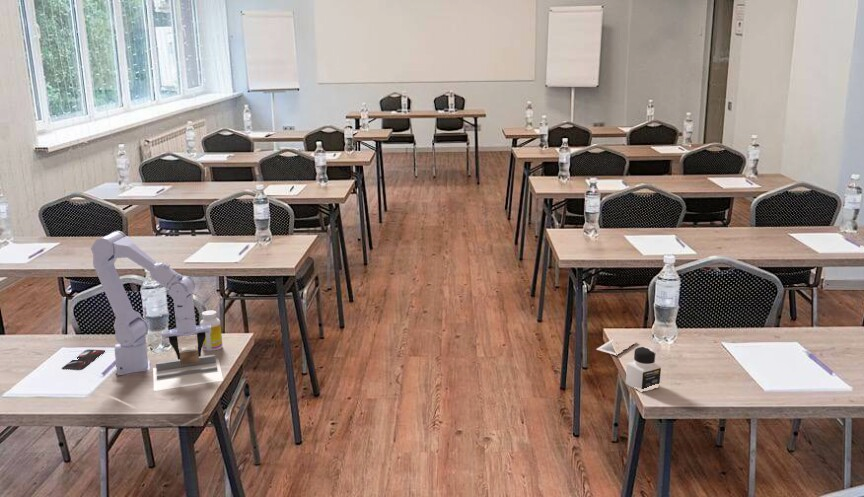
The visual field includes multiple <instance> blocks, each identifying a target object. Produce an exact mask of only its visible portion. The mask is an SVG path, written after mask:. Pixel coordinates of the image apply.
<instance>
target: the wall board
mask: <svg viewBox="0 0 864 497" xmlns="http://www.w3.org/2000/svg"><path fill="white" fill-rule="evenodd" d="M152 371H153V372H152V375H153V378H152V379H153V392H158V391H159V392H160V391H164V390H172V389H177V388H178V389H179V388H185V387H191V386H197V385H203V384H204V385H205V384H210V383H217V382H218V383H219V382H224V378H223V374H222V369H221V364H220V358H216V354H210V355H203V356H202V355H201V356H200V357H199V363H192V364H185V365H181V362H180V359H179V360H178V359H174V360H173V359H172V360H167V361H161V362H155V367H153V368H152Z"/></svg>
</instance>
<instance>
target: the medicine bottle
mask: <svg viewBox="0 0 864 497" xmlns="http://www.w3.org/2000/svg"><path fill="white" fill-rule="evenodd" d="M633 355H634V356H633V361H628V362H627V363H626V374H625V376H626V377H625V384H626V386H628V387H630V388H632V389H634V388H633V386H634V387H637V388H641V389H644V388H647V387H649V386H652V385H655V384H659V383H661V371H662V366H661V365H659V364H656V351H655V349H653V348H651V347H647V346H640V347H637V348H635V350H634V354H633Z"/></svg>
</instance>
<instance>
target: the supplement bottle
mask: <svg viewBox="0 0 864 497" xmlns="http://www.w3.org/2000/svg"><path fill="white" fill-rule="evenodd" d="M217 313H218V312H217V311H216V310H210V309H209V310H205V311H202V313H201V317H202V319H201V320H200V322H199V326H208V325H211V333H205V335H206V338H205V340H204V343H203V346H202V350H204V351H217V350H221V349H222V348H223V336H222V325H221V324H222V323H221V320H220V318H218V317H217Z"/></svg>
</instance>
